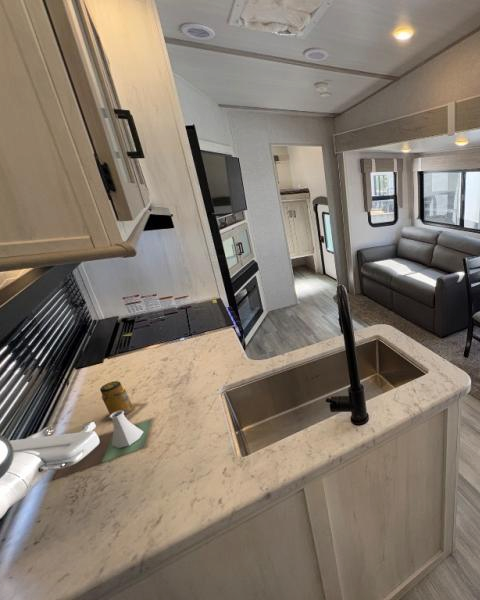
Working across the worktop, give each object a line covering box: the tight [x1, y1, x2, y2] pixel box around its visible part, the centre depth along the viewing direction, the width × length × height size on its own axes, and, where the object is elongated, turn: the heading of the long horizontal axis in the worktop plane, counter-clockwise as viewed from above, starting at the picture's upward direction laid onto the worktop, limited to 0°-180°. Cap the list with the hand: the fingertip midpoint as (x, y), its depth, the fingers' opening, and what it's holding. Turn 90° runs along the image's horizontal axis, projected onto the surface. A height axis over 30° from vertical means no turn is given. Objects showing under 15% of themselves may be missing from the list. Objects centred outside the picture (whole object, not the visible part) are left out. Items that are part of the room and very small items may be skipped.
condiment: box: [99, 380, 134, 417], centre depth 106 cm, size 7×8×12 cm
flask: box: [108, 410, 143, 448], centre depth 94 cm, size 7×7×10 cm
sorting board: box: [53, 419, 152, 481], centre depth 94 cm, size 20×14×1 cm
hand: (71, 426), depth 79 cm, fingers open, 8 cm apart
